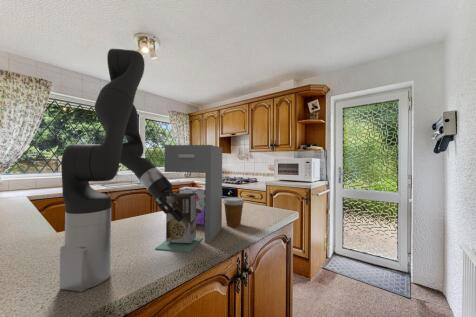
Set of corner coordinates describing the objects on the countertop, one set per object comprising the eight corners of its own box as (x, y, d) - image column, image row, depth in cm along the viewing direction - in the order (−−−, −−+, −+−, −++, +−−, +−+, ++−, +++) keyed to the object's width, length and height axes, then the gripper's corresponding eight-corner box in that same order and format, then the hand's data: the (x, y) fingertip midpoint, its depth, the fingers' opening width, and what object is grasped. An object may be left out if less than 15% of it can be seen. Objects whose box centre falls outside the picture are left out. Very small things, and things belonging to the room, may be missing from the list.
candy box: (177, 223, 99) (178, 187, 99) (184, 219, 104) (184, 186, 104) (204, 225, 95) (205, 189, 95) (210, 222, 100) (210, 187, 100)
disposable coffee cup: (219, 227, 93) (220, 199, 93) (227, 221, 102) (227, 196, 102) (240, 229, 90) (240, 201, 90) (246, 223, 99) (246, 197, 99)
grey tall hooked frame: (209, 243, 74) (210, 144, 74) (162, 240, 77) (163, 144, 78) (221, 228, 91) (222, 147, 91) (182, 225, 94) (183, 147, 94)
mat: (189, 252, 67) (189, 251, 67) (154, 249, 69) (154, 248, 69) (202, 238, 79) (202, 237, 79) (172, 236, 81) (172, 235, 81)
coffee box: (196, 236, 78) (197, 193, 78) (190, 243, 71) (191, 196, 71) (172, 235, 79) (173, 192, 79) (164, 242, 72) (165, 195, 72)
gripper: (151, 177, 70) (184, 215, 67) (172, 174, 84) (200, 205, 81) (136, 192, 70) (168, 230, 68) (160, 187, 85) (187, 218, 82)
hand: (185, 217), depth 75 cm, fingers closed on coffee box, 6 cm apart
